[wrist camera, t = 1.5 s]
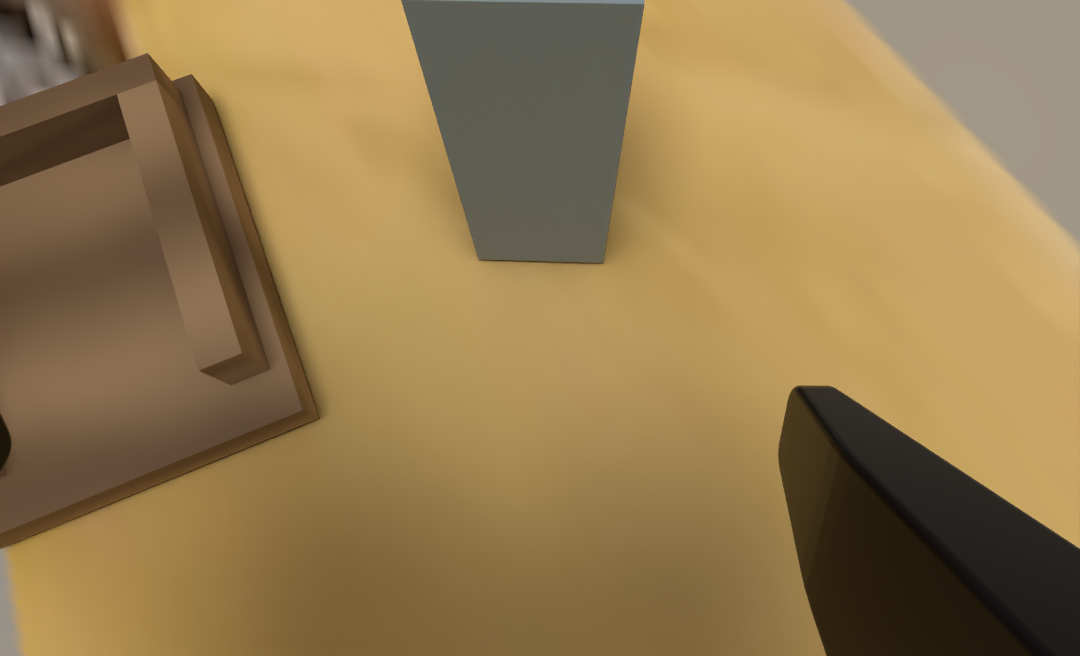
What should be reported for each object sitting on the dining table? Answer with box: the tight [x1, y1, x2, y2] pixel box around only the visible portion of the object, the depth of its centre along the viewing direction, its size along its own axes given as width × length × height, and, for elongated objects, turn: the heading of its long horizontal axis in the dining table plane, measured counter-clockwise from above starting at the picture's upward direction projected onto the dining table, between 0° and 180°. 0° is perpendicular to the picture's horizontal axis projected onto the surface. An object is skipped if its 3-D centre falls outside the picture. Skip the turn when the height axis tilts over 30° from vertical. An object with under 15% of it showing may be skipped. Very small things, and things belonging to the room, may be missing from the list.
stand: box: [0, 53, 319, 549], centre depth 22 cm, size 12×10×4 cm
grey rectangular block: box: [401, 0, 644, 263], centre depth 19 cm, size 5×4×12 cm
